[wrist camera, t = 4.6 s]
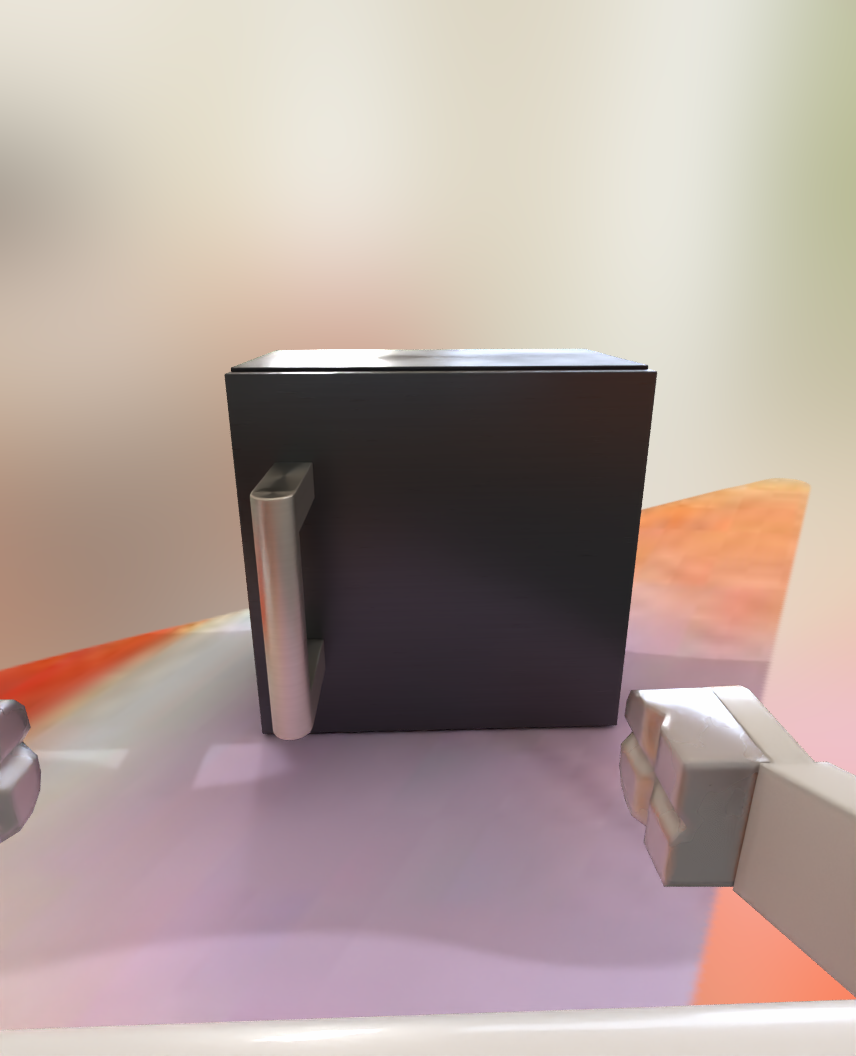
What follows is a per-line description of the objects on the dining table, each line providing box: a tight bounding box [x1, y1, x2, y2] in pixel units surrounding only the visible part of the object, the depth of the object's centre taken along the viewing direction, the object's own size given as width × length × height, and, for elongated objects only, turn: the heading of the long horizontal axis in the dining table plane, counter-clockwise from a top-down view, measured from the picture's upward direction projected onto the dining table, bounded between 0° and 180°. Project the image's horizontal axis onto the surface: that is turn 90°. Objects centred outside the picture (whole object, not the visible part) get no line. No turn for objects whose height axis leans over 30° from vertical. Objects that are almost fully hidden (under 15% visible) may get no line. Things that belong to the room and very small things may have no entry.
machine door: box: [225, 370, 657, 740], centre depth 27 cm, size 6×18×17 cm, turn 92°
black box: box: [231, 349, 648, 372], centre depth 34 cm, size 10×18×18 cm, turn 92°
